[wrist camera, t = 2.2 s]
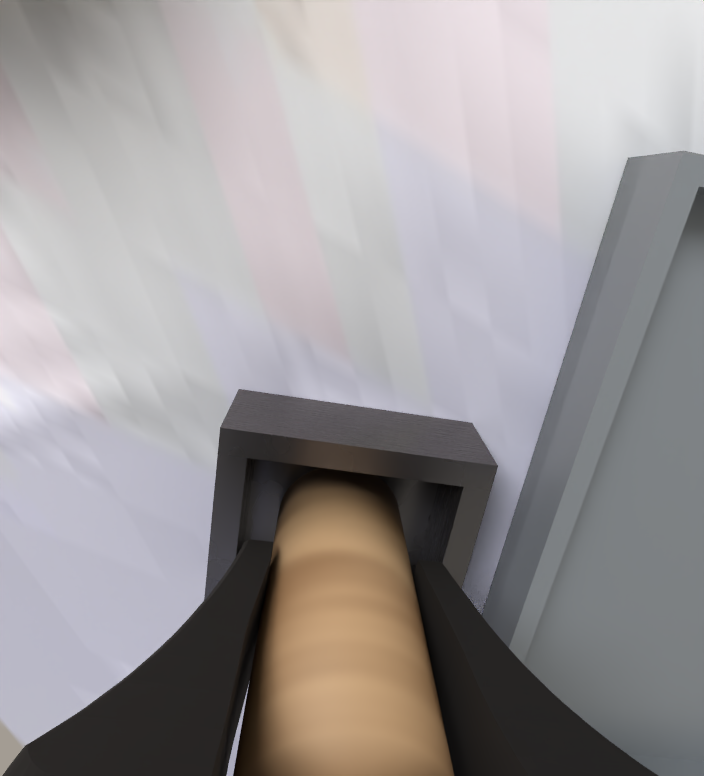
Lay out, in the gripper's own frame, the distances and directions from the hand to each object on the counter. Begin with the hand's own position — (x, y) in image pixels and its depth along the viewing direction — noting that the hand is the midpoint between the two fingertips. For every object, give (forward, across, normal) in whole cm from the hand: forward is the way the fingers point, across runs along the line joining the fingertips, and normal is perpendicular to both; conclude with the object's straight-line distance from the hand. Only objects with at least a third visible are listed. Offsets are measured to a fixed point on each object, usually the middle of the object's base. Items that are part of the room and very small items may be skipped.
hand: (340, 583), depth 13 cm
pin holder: (+3, 0, 0) cm, 3 cm away
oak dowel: (+3, 0, 0) cm, 3 cm away
